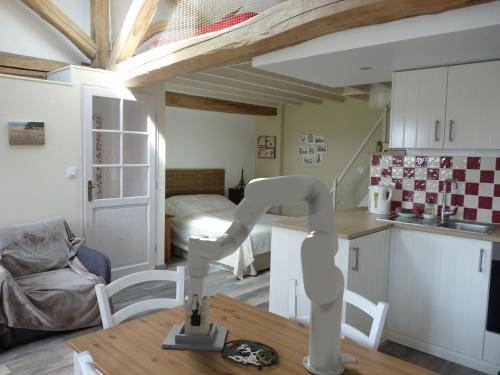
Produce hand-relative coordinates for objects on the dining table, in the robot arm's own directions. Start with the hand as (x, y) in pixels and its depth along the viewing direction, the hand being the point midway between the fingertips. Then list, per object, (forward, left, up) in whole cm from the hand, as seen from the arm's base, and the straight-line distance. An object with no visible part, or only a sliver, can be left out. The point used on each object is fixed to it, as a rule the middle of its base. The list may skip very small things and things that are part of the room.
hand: (197, 321), depth 140 cm
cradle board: (0, 0, -6) cm, 6 cm away
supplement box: (0, 0, -5) cm, 5 cm away
